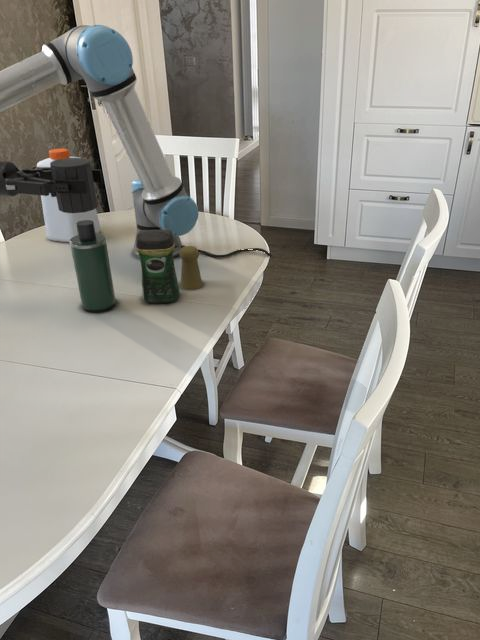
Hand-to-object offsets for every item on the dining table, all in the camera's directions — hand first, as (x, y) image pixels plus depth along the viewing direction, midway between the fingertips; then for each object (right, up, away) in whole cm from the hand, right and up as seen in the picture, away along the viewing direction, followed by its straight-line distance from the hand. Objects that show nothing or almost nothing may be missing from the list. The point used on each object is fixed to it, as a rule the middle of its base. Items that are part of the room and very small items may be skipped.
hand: (93, 181), depth 120 cm
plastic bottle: (-27, +2, +66) cm, 72 cm away
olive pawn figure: (+17, -19, +32) cm, 41 cm away
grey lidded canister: (-5, -5, +4) cm, 8 cm away
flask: (-5, -26, +21) cm, 34 cm away
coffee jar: (+10, -24, +25) cm, 36 cm away
